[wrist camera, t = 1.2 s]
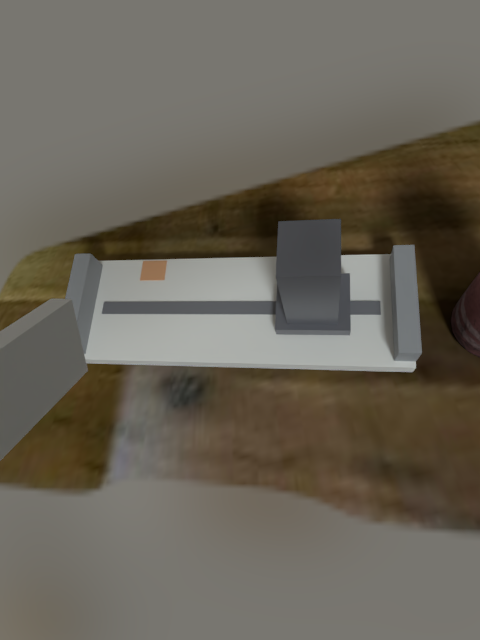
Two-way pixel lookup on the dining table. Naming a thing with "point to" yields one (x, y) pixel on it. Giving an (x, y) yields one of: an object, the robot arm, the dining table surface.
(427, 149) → the dining table surface
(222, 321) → the fader base
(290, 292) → the fader knob
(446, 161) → the dining table surface
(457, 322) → the can
